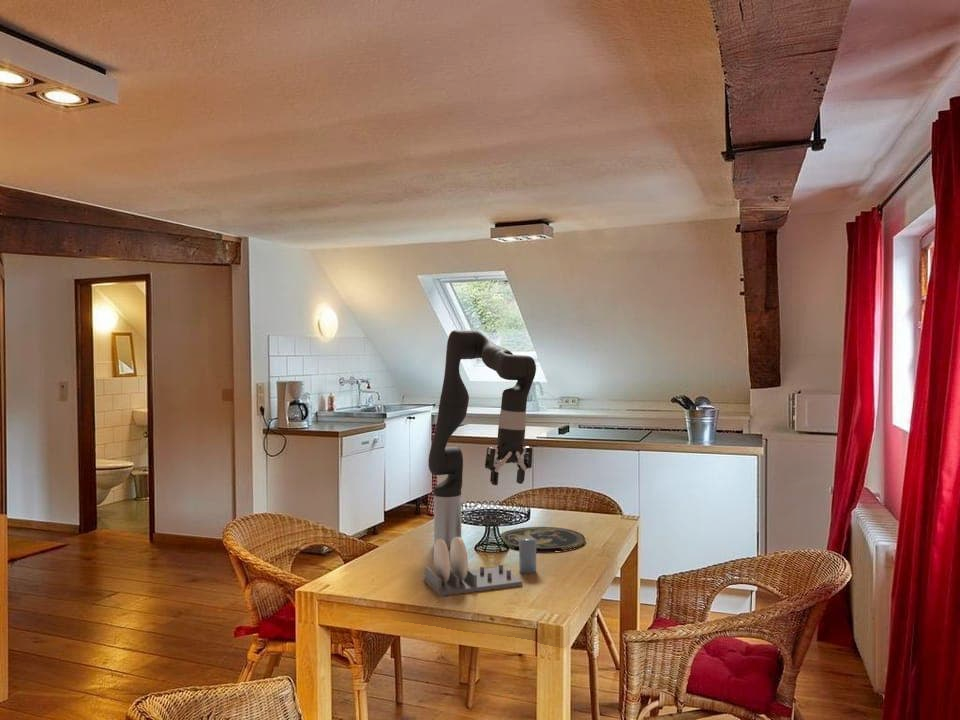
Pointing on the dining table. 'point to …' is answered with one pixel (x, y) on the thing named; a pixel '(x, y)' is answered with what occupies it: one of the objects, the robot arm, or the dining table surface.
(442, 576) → the dish rack
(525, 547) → the grey dome-topped cylinder
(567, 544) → the decorative plate
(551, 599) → the dining table surface
